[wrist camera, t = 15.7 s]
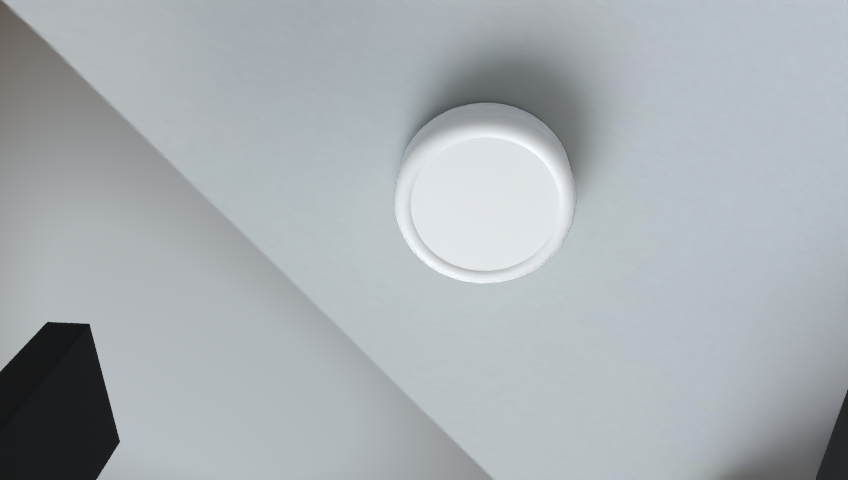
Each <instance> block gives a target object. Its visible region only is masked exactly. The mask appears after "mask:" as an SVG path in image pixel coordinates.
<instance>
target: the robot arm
mask: <svg viewBox="0 0 848 480" xmlns="http://www.w3.org/2000/svg"><path fill="white" fill-rule="evenodd" d="M119 442H120V440H119V437H118V433H117V429H116V425H115V421H114V418H113V413H112V410H111V406H110V402H109V398H108V394H107V390H106V386H105V383H104V379H103V375H102V371H101V368H100V363H99V360H98V355H97V352H96V348H95V344H94V340H93V336H92V332H91V328H90V324H79V323H56V322H54V323H53V322H47V323H46V324H45V325H44V326H43V327H42V328H41V329H40V331H38V332H37V334H36V335H35V336H34V337H33V338H32V339H31V340H30V341H29V342H28V343H27V344H26V345H25V346H24V347H23V348H22V349H21V350H20V351H19V353H18V354H17V355H16V356H15V357H14V358H13V359H12V360H11V361H10V362H9V363H8V364H7V365H6V366H5V367H4V368H3V370H2V371H1V372H0V480H96V479H97V478H98V476H99V474H100V473H101V471H102V469H103V468H104V466H105V465H106V463H107V462H108V460H109V458H110V457H111V455H112V454H113V452H114V450H115V449H116V447H117V446H118V444H119ZM816 480H848V390H847V393H846V396H845V399H844V402H843V404H842V407H841V410H840V413H839V415H838V418H837V421H836V424H835V427H834V429H833V432H832V435H831V438H830V441H829V443H828V446H827V449H826V452H825V455H824V457H823V460H822V463H821V466H820V468H819V471H818V474H817V477H816Z"/></svg>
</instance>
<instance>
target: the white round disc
mask: <svg viewBox="0 0 848 480" xmlns="http://www.w3.org/2000/svg"><path fill="white" fill-rule="evenodd" d="M576 202H577V199H576V186H575V181H574V177H573V174H572V170H571V167H570V164H569V161H568V158H567V155H566V152H565V150H564V148H563V146H562V144H561V142H560V141H559V140H558V138H557V137H556V135H555V134H554V133H553V132H552V131H551V130H550V129H549V128H548V127H547V125H546V124H544V123H543V122H542V121H540V120H539V119H538V118H537V117H535V116H533V115H531V114H530V113H528V112H526V111H523V110H521V109H519V108H516V107H513V106H509V105H505V104H498V103H475V104H468V105H464V106H459V107H456V108H454V109H451V110H448V111H446V112H444V113H442V114H440V115H438V116H437V117H435V118H434V119H432V120H431V121H429V122H428V123H427V124H426V125H425V126H424V127H422V128H421V129H420V130H419V131H418V133H417V134H416V135H415V136H414V137H413V139H412V140H411V142H410V143H409V145H408V147H407V149H406V151H405V153H404V155H403V158H402V161H401V165H400V169H399V172H398V177H397V180H396V184H395V191H394V207H395V213H396V218H397V221H398V224H399V228H400V230H401V232H402V234H403V236H404V238H405V240H406V242H407V243H408V245H409V246H410V248H411V249H412V250H413V251H414V252H415V254H416V255H417V256H418V257H419V258H420V259H421V260H422V261H424V262H425V263H426V264H427V265H429V266H430V267H432V268H433V269H435V270H436V271H438V272H440V273H442V274H444V275H446V276H449V277H451V278H454V279H458V280H462V281H466V282H473V283H495V282H502V281H508V280H511V279H515V278H518V277H520V276H523V275H525V274H528V273H530V272H531V271H533V270H535V269H537V268H538V267H540V266H541V265H542V264H544V263H545V262H546V261H547V260H548V259H550V258H551V257H552V256H553V255H554V254H555V253H556V251H557V250H558V249H559V248H560V246H561V245H562V243H563V242H564V240H565V238H566V237H567V235H568V232H569V230H570V228H571V225H572V223H573V219H574V215H575V211H576Z"/></svg>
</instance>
